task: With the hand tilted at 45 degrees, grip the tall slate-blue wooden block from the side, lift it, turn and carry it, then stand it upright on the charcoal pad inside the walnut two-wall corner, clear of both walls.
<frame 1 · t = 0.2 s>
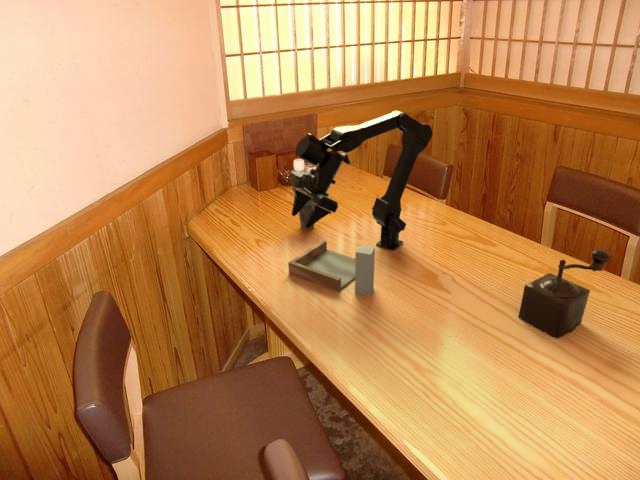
hand: (299, 221, 130), 15 cm above the table, tool tilted 35°, fingers open, 9 cm apart
manual coffee grinder: (556, 318, 113), on the table
beverage cup: (307, 227, 162), on the table
slate block: (364, 291, 125), on the table
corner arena: (333, 269, 135), on the table
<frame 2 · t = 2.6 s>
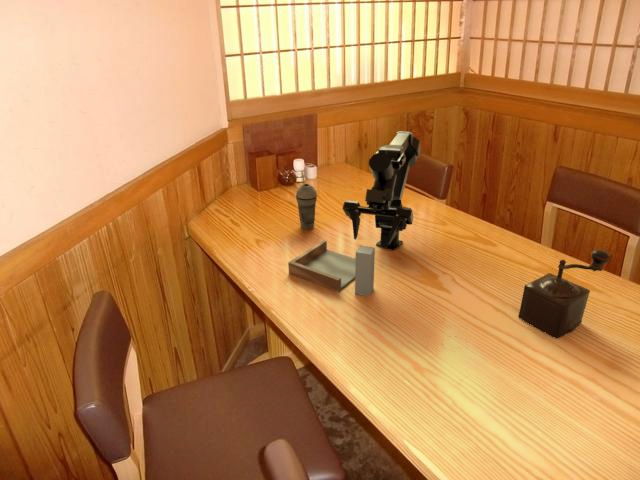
hand: (371, 241, 124), 12 cm above the table, tool tilted 45°, fingers open, 9 cm apart
nothing on the table moved.
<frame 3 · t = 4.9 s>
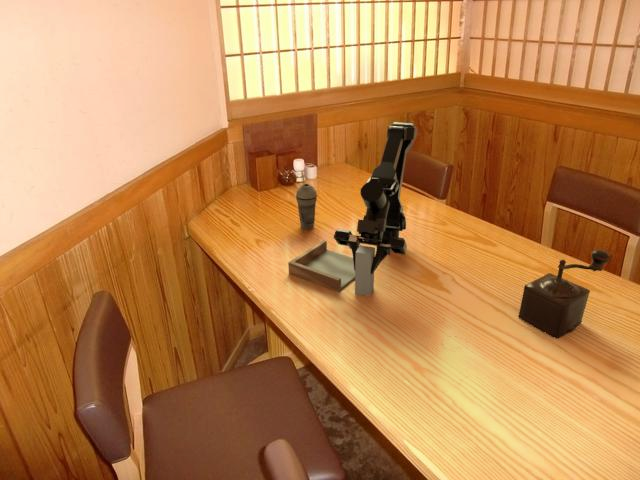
hand: (363, 272, 121), 7 cm above the table, tool tilted 45°, fingers closed on slate block, 4 cm apart
slate block: (364, 291, 125), on the table, touching gripper
everything else where it was.
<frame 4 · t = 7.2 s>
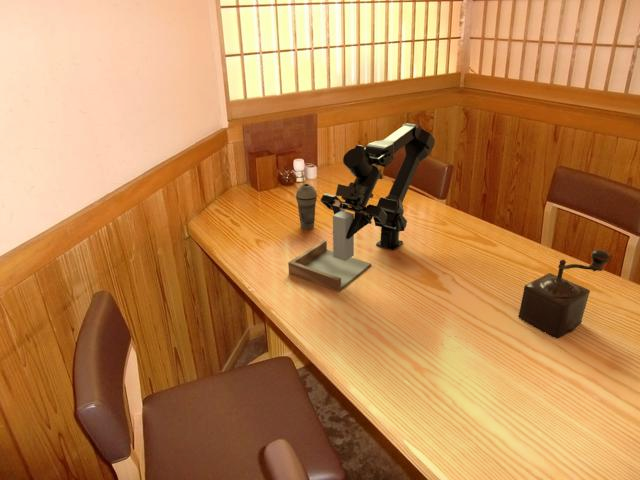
hand: (340, 236, 124), 13 cm above the table, tool tilted 45°, fingers closed on slate block, 4 cm apart
slate block: (343, 256, 128), point 7 cm above the table, touching gripper
everything else where it was.
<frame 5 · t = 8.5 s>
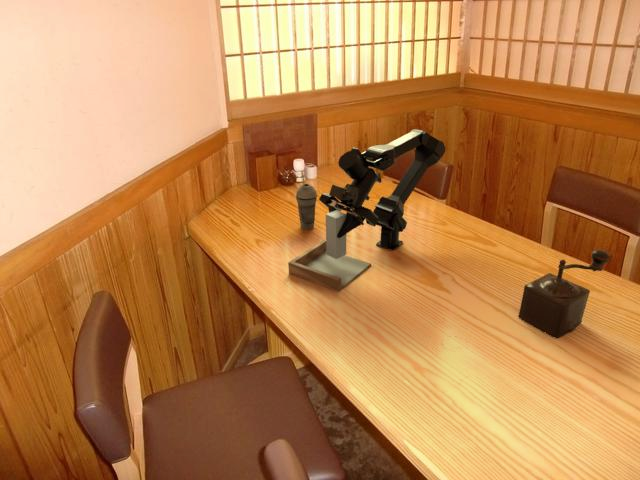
hand: (332, 235, 129), 12 cm above the table, tool tilted 45°, fingers closed on slate block, 4 cm apart
slate block: (336, 254, 133), point 5 cm above the table, touching gripper
everything else where it was.
when the fingers open (8 cm above the table, at t = 9.5 s): slate block drops 1 cm, resting on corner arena.
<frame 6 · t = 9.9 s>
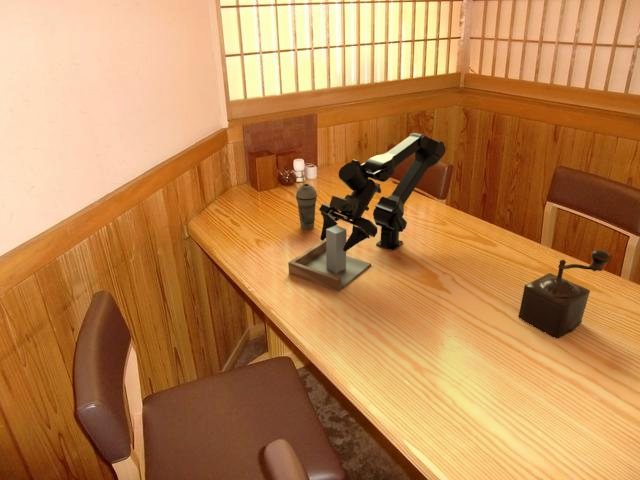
hand: (332, 245, 130), 9 cm above the table, tool tilted 45°, fingers open, 9 cm apart
slate block: (336, 268, 135), point 1 cm above the table, touching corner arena
everything else where it was.
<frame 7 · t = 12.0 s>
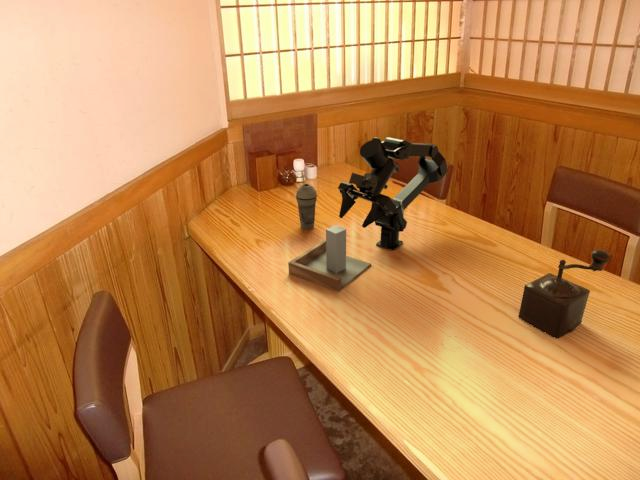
hand: (351, 222, 132), 13 cm above the table, tool tilted 45°, fingers open, 9 cm apart
nothing on the table moved.
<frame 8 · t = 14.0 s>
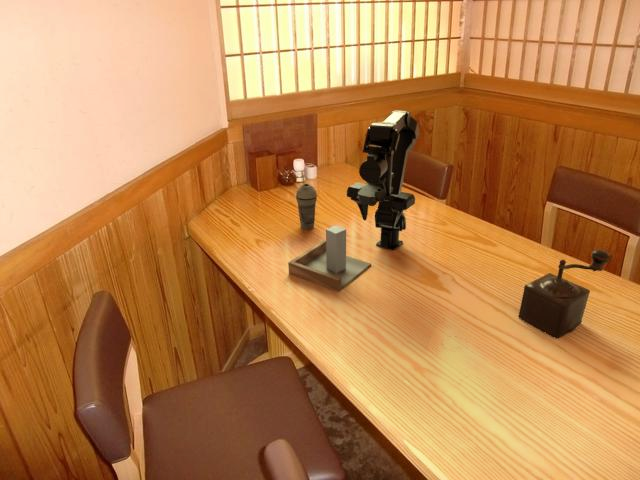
hand: (378, 223, 132), 13 cm above the table, tool pointing down, fingers open, 9 cm apart
nothing on the table moved.
at the end: slate block inside the target area on the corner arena (1.5 cm from its centre), point 0.6 cm above the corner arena's base; slate block tilted 0°; the gripper is holding nothing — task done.
